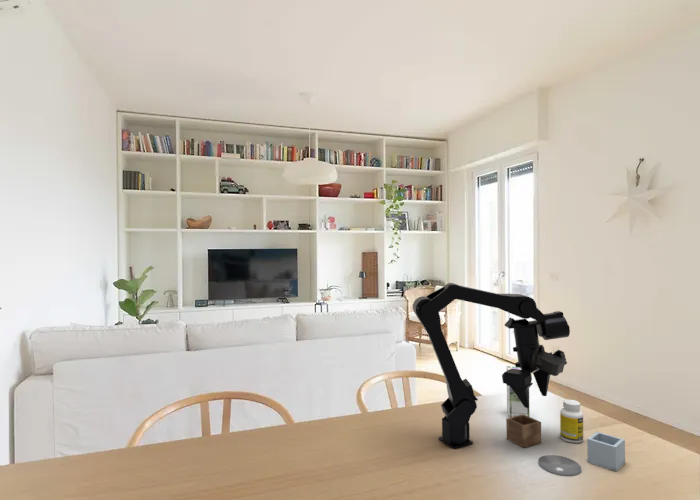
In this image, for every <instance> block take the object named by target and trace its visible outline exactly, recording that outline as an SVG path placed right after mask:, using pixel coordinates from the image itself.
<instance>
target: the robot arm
mask: <svg viewBox="0 0 700 500" xmlns="http://www.w3.org/2000/svg"><path fill="white" fill-rule="evenodd" d="M455 300H458V301H463V302H467V303H472V304H477V305H481V306H487V307H491V308H496V309H499V310H502V311H505V312H507V313H509V314H511V315H514V316H516V317H518V318H519V319H515V318H513V317H509V318H508V320H507V321H506V322H505V323H504V327H506V328H508V329H513V334H514V341H515V346H513V347H512V350H513V351H512V352H516V355H517V362H515V363H514V364H515V365H514V366H516V367H520V368H521V370H520V369H512V368H511V369H510V370H508V371H507V370H506V371H504V372H503V373H502V374H501V377H502V378H501V379H502V383H503V384H506V386H507V385H509V386H510V387H511V388H512V390H513V391H514V392H515V394H516V395H517V397H518V398H519V400H520V401H521V403H522V404H523V406H524V407H525V408H529V409H530V388H531V386H532V385H533V384H534V383H533V382H532V380H533V377H534V379H535V382H536V385H537V387H538V391H540V393H541V396H543V397H547V395H548V391H549V390H548V389H549V384H550V380H551V379H550V378H551V376H553V377H557V376H559V374H561V373H564V367H565V366H566V365H567V364H568V362H567V358H566V355H565V352H564V351H563V350H560V349H557V350H556V351H554V352H552V351H551V352H547V351H546V350H545V347H544V344H540V341H539V337H541V338H542V339H543V340H544V341H549V340H556V339H563V338H568V337H570V334H571V333H570V332H571V329H570V325H569V324H568V321H567V319H566V318H565V316H564V313H563V311H559V310H557V311H553V312H550V313H543V312H542V311H541V310H540V309H539V308H538V307H537V303H536V301H535V299H534V298H533V297H531V296H529V295H524V294H521V293H520V294H519V293H495V292H492V291H488V290H487V291H486V290H484V289H483V290H482V289H477V288H472V287H468V286H463V285H459V284H457V283H453V282H448V283H445V285H444V286H442V287H441V288H439V289H437V290H435V291H433V292H431V293H429V294H428V295H426V296H425V295H424V296H423V295H422V296H419V297H417V298H416V299H414V301H413V304H412V310H413V313H414V314H415V316H416V317H417V320H418V321H419V322H420V325H422V327H423V328H424V330H425V332H426V334H427V336H428V338H429V341H430V344H431V346H432V348H433V351H434V353H435V355H436V359H437V361H438V364H439V366H440V368H441V371H442V373H443V376H444V378H445V381H446V382H445V384H446V390H447V396H448V397H447V399H445V400H444V401H443V402H442V404H440V407H441V411H442V413H443V414H444V417H442V418H441V435H442V436H439V437H438V440H439V441H440V442H442V443H444V444H446V445H447V446H448V447H450V448H451V449H454V450H455V449H458V448H462V447H467V446H469V445H473V444H474V442H473V440H471V439H470V435H471V434H470V423H469V422H470V420H471V417H472V416H473V414H474V413H475V411H476V410H477V407H478V406H477V401H478V400H479V399H478V398H477V397H476V395H475V393H474V388H473V386H472V384H471V383H470V381H469V380H468V379H467V378H465V379H462V378H461V374H460V372H459V370H458V367H457V365H456V362H455V360H454V358H453V355H452V353H451V350H450V346H449V345H448V342H447V340H446V337H445V334H444V333H443V330H442V329H443V328H442V324H441V323H442V322H441V317H440V316H441V315H440V312H441V311H442V310H444V309H445V308H446V307H447V306H448V305H450V304H451V303H452V302H454V301H455ZM527 319H533V320H527ZM532 375H533V377H532Z"/></svg>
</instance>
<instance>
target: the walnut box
mask: <svg viewBox="0 0 700 500" xmlns="http://www.w3.org/2000/svg"><path fill="white" fill-rule="evenodd" d="M505 421H506V423H505V424H506V425H505V426H506V440H508V441H509V442H512V443H514V444H516V445H517V446H519V447H521V448H524V449H527V448H530V447H534V446H537V445H540V444H542V443H543V442H542V422H541V421H540V420H537V419H535V418H532V417H528V416H526V415H523V414H522V415H518V416H514V417H507V418H506V419H505Z"/></svg>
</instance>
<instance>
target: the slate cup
mask: <svg viewBox="0 0 700 500" xmlns="http://www.w3.org/2000/svg"><path fill="white" fill-rule="evenodd" d="M586 440H587V441H586V443H587V444H586V445H587V446H586V447H587V463H588V464H592V465H595V466H598V467H600V468H601V467H602V468H604V469H607V470H610V471H613V472H616V473H617V472H618V471H619V470H620V469H621V468H622V467H623V466H624V465H625V463H626V439H624V438H621V437H618V436H614V435H611V434H609V433H608V434H607V433H604V432H601V431H596V432H594V433H593V434H592V435H591V436H589V437H588V438H587V439H586Z"/></svg>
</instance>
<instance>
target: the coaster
mask: <svg viewBox="0 0 700 500" xmlns="http://www.w3.org/2000/svg"><path fill="white" fill-rule="evenodd" d="M537 463H538V466H539V467H540V468H541V469H542V470H544V471H546V472H548V473H551V474H553V475H556V476H560V477H561V476H563V477H574V476H578V475H579V474H581V473H582V467H581V466H582V465H580V464H579V462H577V461H576V460H574V459H572V458H569V457H566V456H562V455H557V454H545V455H542V456H540V457H539V458H538V460H537Z"/></svg>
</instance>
